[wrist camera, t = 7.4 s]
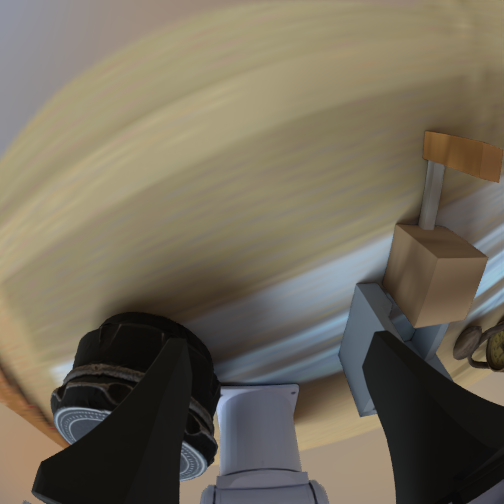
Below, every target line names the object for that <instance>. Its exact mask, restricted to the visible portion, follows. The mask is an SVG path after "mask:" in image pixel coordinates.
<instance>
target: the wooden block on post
mask: <svg viewBox="0 0 504 504" xmlns="http://www.w3.org/2000/svg"><path fill="white" fill-rule="evenodd" d="M502 156H503V149H500V148H498V147H495V146H492V145H490V144H487V143H484V142H480V141H476V140H472V139H467V138H462V137H457V136H452V135H447V134H441V133H435V132H429V131H425V138H424V149H423V159H426V160H428V169H427V176H426V183H425V190H424V196H423V202H422V207H421V213H420V218H419V223H418V225H402V224H396V226H395V231H394V236H393V241H392V246H391V251H390V255H389V259H388V264H387V268H386V272H385V276H384V280H383V284H382V285H383V286H384V287H385V289H386V290H387V291H388V293H389V294H390V295H391V297H392V298H393V299H394V301H395V302H396V303H397V305H398V306H399V308H400V309H401V310H402V312H403V313H404V315H405V316H406V317H407V319H408V320H409V322H410V323H411V324H412V326H413V327H414V328H419V327H426V326H432V325H438V324H443V323H449V322H454V321H459V320H464V319H465V318H466V316H467V313H468V311H469V309H470V306H471V304H472V302H473V299H474V297H475V294H476V291H477V289H478V286H479V284H480V281H481V278H482V275H483V272H484V270H485V267H486V264H487V260H488V257H487V256H486V255H485V254H483V253H482V252H481V251H479V250H478V249H476V248H475V247H474V246H472V245H471V244H469V243H468V242H467V241H465V240H464V239H462V238H461V237H460V236H458V235H457V234H455V233H454V232H452V231H451V230H449V229H448V228H446V227H441V226H434V225H435V220H436V216H437V211H438V205H439V200H440V194H441V188H442V182H443V175H444V168H445V166H448V167H451V168H454V169H457V170H460V171H462V172H465V173H468V174H470V175H473V176H476V177H478V178H482V179H486V180H490V181H494V182H497V183H499V179H500V172H501V165H502Z"/></svg>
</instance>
